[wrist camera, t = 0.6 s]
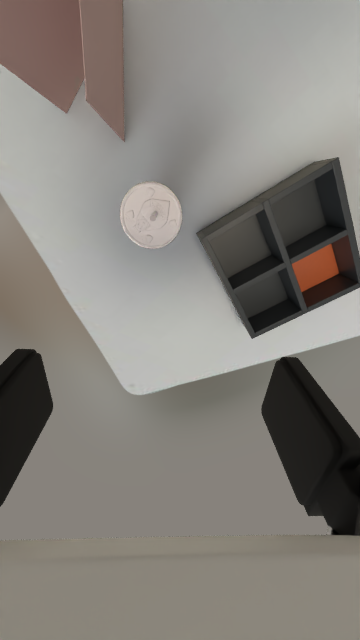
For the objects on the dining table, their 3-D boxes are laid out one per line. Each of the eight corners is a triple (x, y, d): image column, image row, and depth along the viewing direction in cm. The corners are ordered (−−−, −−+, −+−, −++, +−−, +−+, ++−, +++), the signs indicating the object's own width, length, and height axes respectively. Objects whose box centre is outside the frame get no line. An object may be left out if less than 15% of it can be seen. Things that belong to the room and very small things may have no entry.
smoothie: (188, 215, 33) (199, 230, 21) (152, 244, 35) (143, 273, 23) (159, 172, 31) (152, 159, 18) (122, 205, 32) (93, 214, 20)
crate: (314, 161, 31) (338, 156, 26) (342, 273, 38) (365, 284, 34) (196, 233, 34) (200, 239, 30) (243, 323, 42) (251, 339, 37)
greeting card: (114, -9, 24) (44, -265, 10) (173, 60, 26) (177, -75, 13) (59, 107, 27) (-44, 28, 14) (115, 157, 30) (71, 130, 17)
